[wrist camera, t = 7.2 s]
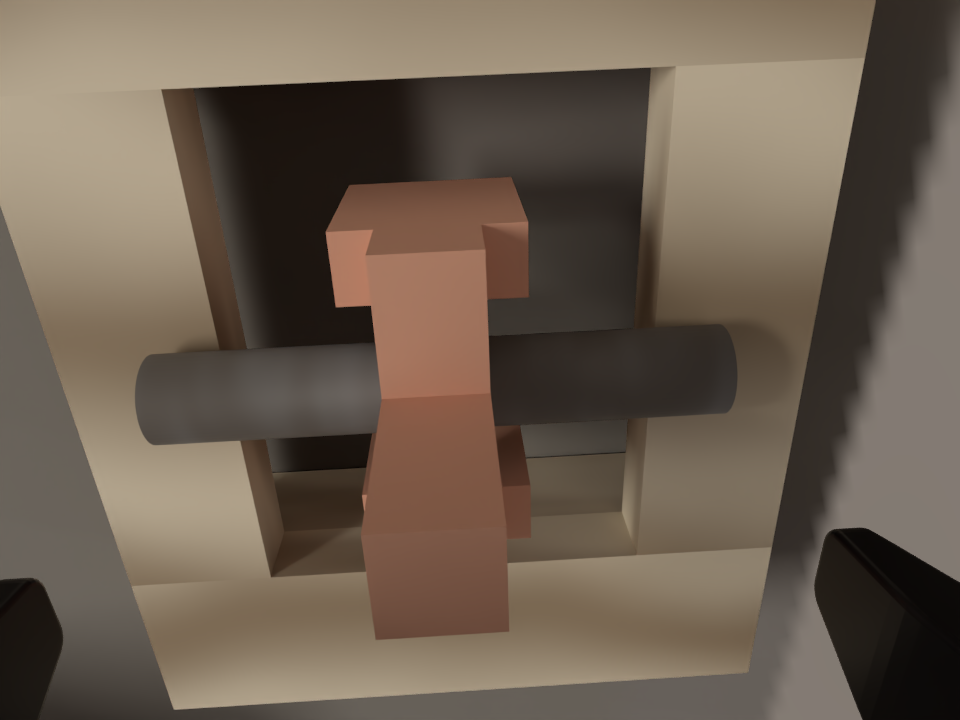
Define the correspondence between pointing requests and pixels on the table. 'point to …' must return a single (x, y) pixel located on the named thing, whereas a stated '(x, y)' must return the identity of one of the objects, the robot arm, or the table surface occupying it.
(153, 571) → the frame with crossbar
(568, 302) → the table surface
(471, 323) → the tee shaped peg
